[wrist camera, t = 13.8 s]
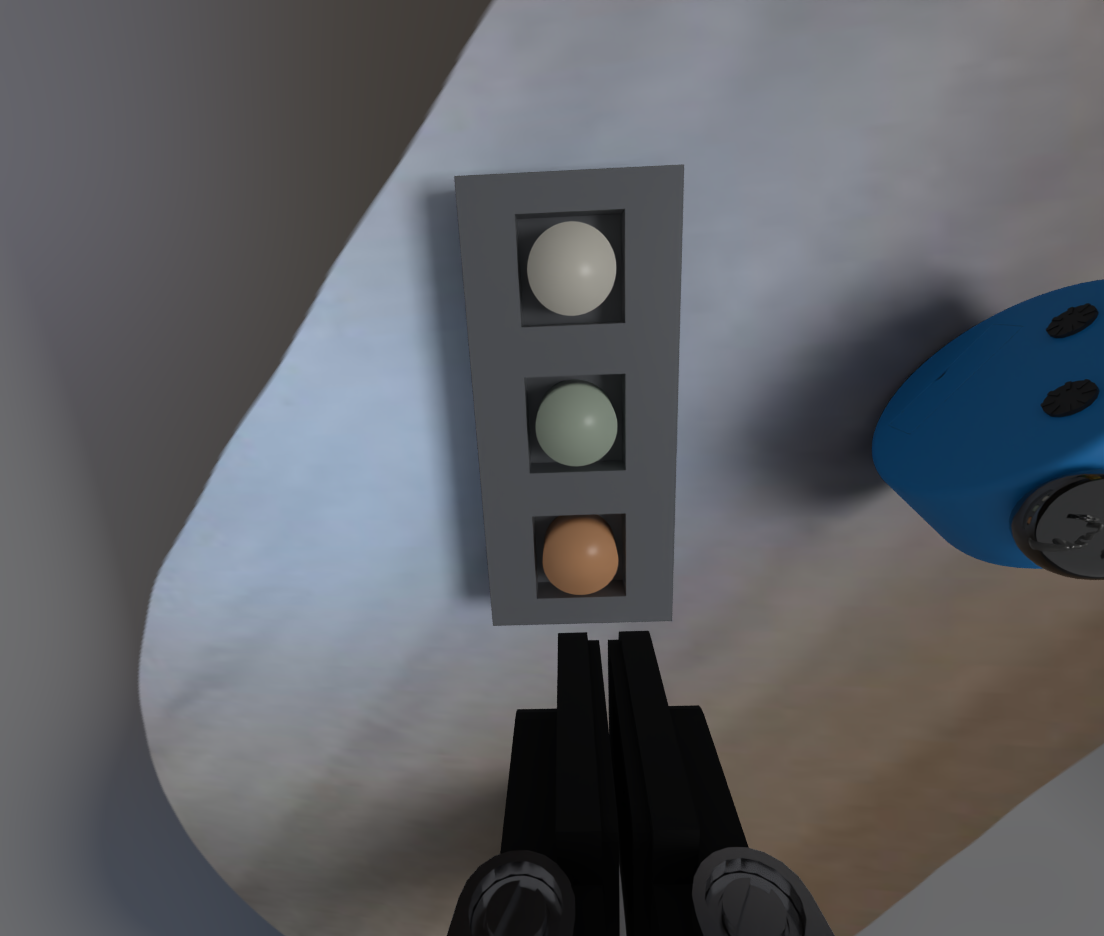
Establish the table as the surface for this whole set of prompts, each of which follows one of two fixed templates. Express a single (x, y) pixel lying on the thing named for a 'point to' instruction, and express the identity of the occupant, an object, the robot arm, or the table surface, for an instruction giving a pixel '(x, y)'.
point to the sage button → (576, 423)
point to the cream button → (571, 268)
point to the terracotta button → (579, 553)
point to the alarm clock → (1009, 436)
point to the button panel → (575, 353)
